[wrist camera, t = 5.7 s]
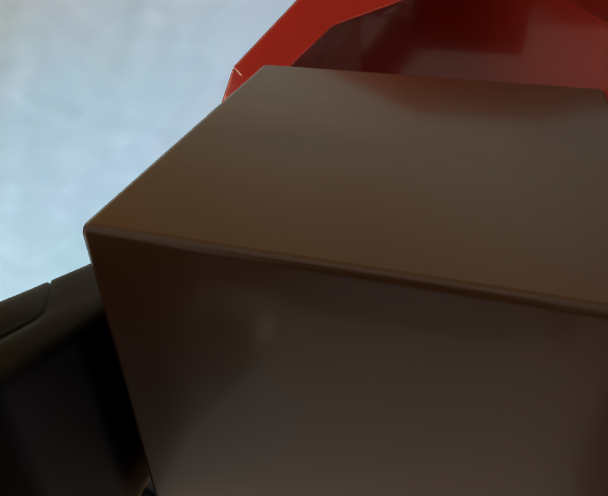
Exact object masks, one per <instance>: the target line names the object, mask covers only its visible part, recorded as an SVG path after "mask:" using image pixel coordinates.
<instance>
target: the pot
mask: <svg viewBox="0 0 608 496" xmlns="http://www.w3.org/2000/svg"><path fill="white" fill-rule="evenodd" d="M265 65H276V66H290V67H304V68H317V69H331V70H344V71H358V72H372V73H385V74H399V75H412V76H426V77H440V78H453V79H467V80H481V81H494V82H508V83H521V84H535V85H549V86H562V87H576V88H590V89H601V90H603V91H605V93H606V96H607V99H608V0H296V1H295V2H294V3H293V5H292V6H291V7H290V8H289V9H288V10H287V11H286V12H285V13H284V14H283V15H282V16H281V17H280V18H279V19H278V20H277V21H276V23H275V24H274V25H273V26H272V27H271V28H270V29H269V30H268V31H267V32H266V33H265V34H264V35H263V36H262V37H261V38H260V39H259V40H258V42H257V43H256V44H255V45H254V46H253V47H252V48H251V49H250V50H249V51H248V52H247V53H246V54H245V55H244V56H243V57H242V58H241V59H240V61H239V62H238V63H237V64H236V65H235V66H234V69H233V70H232V73H231V76H230V79H229V82H228V85H227V88H226V91H225V94H224V97H223V100H222V102H223V101H224V100H225V99H227V98H228V97H229V96H230V95H231V94H232V93H233V92H234V91H236V90H237V89H238V88H239V87H240V86H241V85H242V84H243V83H245V82H246V81H247V80H248V79H249V78H250V77H251V76H253V75H254V74H255V73H256V72H257V71H258V70H259V69H260V68H262V67H263V66H265Z"/></svg>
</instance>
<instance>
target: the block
mask: <svg viewBox="0 0 608 496" xmlns="http://www.w3.org/2000/svg"><path fill="white" fill-rule="evenodd" d="M83 236H84V239H85V243H86V246H87V250H88V254H89V257H90V261H91V265H92V268H93V272H94V275H95V279H96V283H97V286H98V290H99V293H100V297H101V301H102V304H103V308H104V311H105V315H106V319H107V322H108V326H109V329H110V333H111V337H112V340H113V344H114V347H115V351H116V355H117V358H118V362H119V366H120V369H121V373H122V376H123V380H124V384H125V387H126V391H127V394H128V398H129V402H130V405H131V409H132V412H133V416H134V420H135V423H136V427H137V430H138V434H139V438H140V441H141V445H142V449H143V452H144V456H145V459H146V463H147V467H148V470H149V474H150V477H151V481H152V485H153V488H154V492H155V495H156V496H608V99H607V96H606V93H605V91H603V90H601V89H590V88H576V87H562V86H549V85H535V84H521V83H508V82H494V81H481V80H467V79H453V78H440V77H426V76H412V75H399V74H385V73H372V72H358V71H344V70H331V69H317V68H304V67H290V66H276V65H265V66H263V67H262V68H260V69H259V70H258V71H257V72H256V73H255V74H254V75H253V76H251V77H250V78H249V79H248V80H247V81H246V82H245V83H243V84H242V85H241V86H240V87H239V88H238V89H237V90H236V91H234V92H233V93H232V94H231V95H230V96H229V97H228V98H227V99H225V100H224V101H223V102H222V103H221V104H220V105H219V106H218V107H216V108H215V109H214V110H213V111H212V112H211V113H210V114H208V115H207V116H206V117H205V118H204V119H203V120H202V121H201V122H199V123H198V124H197V125H196V126H195V127H194V128H193V129H192V130H190V131H189V132H188V133H187V134H186V135H185V136H184V137H182V138H181V139H180V140H179V141H178V142H177V143H176V144H175V145H173V146H172V147H171V148H170V149H169V150H168V151H167V152H166V153H164V154H163V155H162V156H161V157H160V158H159V159H158V160H157V161H155V162H154V163H153V164H152V165H151V166H150V167H149V168H147V169H146V170H145V171H144V172H143V173H142V174H141V175H140V176H138V177H137V178H136V179H135V180H134V181H133V182H132V183H131V184H129V185H128V186H127V187H126V188H125V189H124V190H123V191H122V192H120V193H119V194H118V195H117V196H116V197H115V198H114V199H112V200H111V201H110V202H109V203H108V204H107V205H106V206H105V207H103V208H102V209H101V210H100V211H99V212H98V213H97V214H96V215H94V216H93V217H92V218H91V219H90V220H89V221H88V222H87V223H85V225H84V227H83Z"/></svg>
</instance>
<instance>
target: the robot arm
mask: <svg viewBox="0 0 608 496" xmlns="http://www.w3.org/2000/svg"><path fill="white" fill-rule="evenodd" d="M0 496H156V495H155V492H154V488H153V485H152V481H151V477H150V474H149V470H148V467H147V463H146V459H145V456H144V452H143V449H142V445H141V441H140V438H139V434H138V430H137V427H136V423H135V420H134V416H133V412H132V409H131V405H130V402H129V398H128V394H127V391H126V387H125V384H124V380H123V376H122V373H121V369H120V366H119V362H118V358H117V355H116V351H115V347H114V344H113V340H112V337H111V333H110V329H109V326H108V322H107V319H106V315H105V311H104V308H103V304H102V301H101V297H100V293H99V290H98V286H97V283H96V279H95V275H94V272H93V268H92V265H91V264H89V265H87V266H84V267H82V268H80V269H77V270H75V271H73V272H70V273H68V274H66V275H63V276H61V277H59V278H56V279H54V280H52V281H51V283H44V284H42V285H39V286H37V287H35V288H33V289H30V290H28V291H26V292H23V293H21V294H18V295H16V296H13V297H11V298H8V299H6V300H3V301H1V302H0Z"/></svg>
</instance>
